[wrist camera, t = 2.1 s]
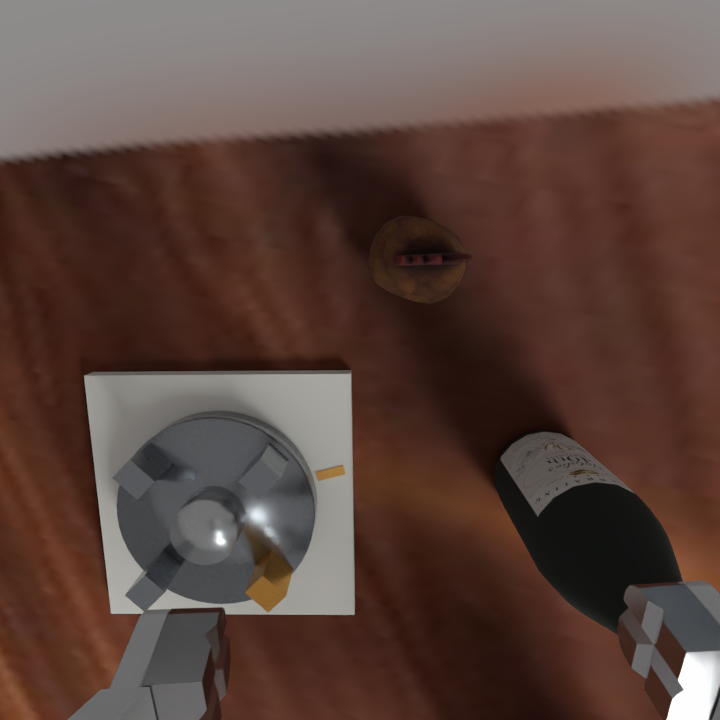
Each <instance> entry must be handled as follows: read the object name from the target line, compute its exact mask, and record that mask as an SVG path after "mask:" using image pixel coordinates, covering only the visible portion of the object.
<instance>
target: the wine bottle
mask: <svg viewBox="0 0 720 720" xmlns="http://www.w3.org/2000/svg"><path fill="white" fill-rule="evenodd" d="M495 487H496V489H497V492H498V494H499V496H500V499H501V501H502V503H503V505H504V507H505V509H506V511H507V513H508V514H509V516H510V518H511V520H512V522H513V524H514V526H515V527H516V529H517V531H518V533H519V535H520V537H521V538H522V540H523V542H524V544H525V546H526V548H527V549H528V551H529V553H530V555H531V557H532V559H533V560H534V562H535V564H536V566H537V568H538V570H539V571H540V572H541V574H542V575H543V576H544V577H545V578H546V579H547V581H548V582H549V583H550V584H551V585H552V586H553V587H554V588H555V589H556V590H557V591H558V592H559V593H560V594H561V596H562V597H563V598H564V599H565V600H566V601H567V602H569V603H570V604H571V605H572V606H573V607H574V608H576V609H577V610H579V611H580V612H581V613H583V614H584V615H586V616H588V617H589V618H591V619H593V620H594V621H596V622H598V623H599V624H601V625H603V626H604V627H606V628H608V629H609V630H611V631H613V632H614V633H616V634H617V635H618V631H617V628H618V623H619V617H620V616H621V615H622V614H623V613H624V612H625V611H626V610H627V609H628V608H629V607H628V606H627V605H626V603H625V602H624V600H623V599H624V595H625V591H626V589H627V588H628V587H629V586H630V585H638V584H654V583H669V582H676V583H678V582H683V581H682V577H681V574H680V570H679V567H678V564H677V561H676V558H675V555H674V552H673V549H672V546H671V544H670V541H669V539H668V536H667V534H666V532H665V531H664V529H663V527H662V525H661V524H660V522H659V521H658V519H657V518H656V517H655V515H654V514H653V513H652V511H651V510H650V509H649V508H648V507H647V506H646V504H645V503H644V502H643V501H642V500H641V499H640V498H639V497H638V496H637V495H636V494H635V493H634V492H633V491H632V490H631V489H630V488H628V487H627V486H626V485H625V484H624V483H623V482H622V481H620V480H619V479H618V478H617V477H616V476H615V475H614V474H612V473H611V472H610V471H609V470H608V469H607V468H606V467H604V466H603V465H602V464H601V463H600V462H599V461H597V460H596V459H595V458H594V457H593V456H592V455H591V454H589V453H588V452H587V451H586V450H585V449H584V448H583V447H581V446H580V445H579V444H578V443H577V442H576V441H574V440H573V439H571V438H569V437H567V436H565V435H563V434H561V433H559V432H553V431H545V430H539V431H534V432H529V433H525V434H523V435H521V436H519V437H518V438H516V439H514V440H513V441H511V442H510V443H509V444H508V445H507V447H506V448H505V449H504V450H503V451H502V452H501V453H500V456H499V458H498V461H497V464H496V467H495Z"/></svg>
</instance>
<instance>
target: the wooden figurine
mask: <svg viewBox="0 0 720 720" xmlns="http://www.w3.org/2000/svg"><path fill="white" fill-rule="evenodd" d="M471 259H472V255H468V254H466V251H465V249H464V247H463V245H462V242H461V240H460V238H459V237H458V236H457V235H456V234H455V233H453V232H452V231H451V230H449V229H448V228H447V227H445V226H443V225H441V224H438V223H436V222H434V221H432V220H428V219H425V218H421V217H417V216H402V215H400V216H398V217H396V218H394V219H392V220H390V221H388V222H386V223H385V224H384V225H383V226H382V227H381V229H380V230H379V231H378V232H377V233H376V235H375V237H374V240H373V242H372V245H371V248H370V255H369V267H368V268H369V270H370V273H371V275H372V277H373V280H374V282H375V284H377V285H378V286H380V287H382V288H383V289H385V290H386V291H388V292H390V293H392V294H394V295H397V296H399V297H402V298H404V299H408V300H411V301H415V302H419V303H427V304H434V303H436V302H438V301H440V300H442V299H445V298H447V297H449V296H450V295H451V293H452V292H453V291H454V290H455V289H456V288H457V286H458V285H459V284H460V282H461V279H462V277H463V274H464V272H465V269H466V261H469V260H471Z"/></svg>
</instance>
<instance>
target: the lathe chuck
mask: <svg viewBox="0 0 720 720" xmlns="http://www.w3.org/2000/svg"><path fill="white" fill-rule="evenodd" d="M112 479H114V480H115V481H116V482H117V483H118V484H119V489H118V494H117V518H118V523H119V528H120V531H121V534H122V538H123V540H124V542H125V544H126V546H127V549H128V550H129V552H130V554H131V555H132V557H133V558H134V560H135V561H136V562H137V564H138V565H139V566H140V567H141V568H142V570H143V572H142V573H141V574H140V576H139V577H138V578H137V580H136V581H135V582H134V584H133V585H132V586H131V588H130V589H129V590H128V592H127V593H126V594H125V596H126V597H127V598H128V599H130V600H131V601H132V602H133V603H134V604H136V605H137V606H138V607H139V608H140V609H142V610H143V611H145V610H147V609H148V608H149V607H150V606H151V605H152V604H153V603H155V602H156V601H157V600H158V599H159V598H160V597H161V596H162V595H163V594H164V593H165V591H166V590H167V589H168V590H170V591H171V592H173V593H175V594H178V595H180V596H182V597H185V598H188V599H191V600H195V601H199V602H205V603H212V604H231V603H239V602H244V601H248V600H251V599H253V600H254V601H255V602H256V603H257V604H259V605H260V606H261V607H262V608H263V609H264V610H266V611H267V612H268V613H269V612H270V611H271V610H272V609H273V608H274V607H275V606H276V605H277V604H278V603H279V602H280V601H281V600H282V599H284V598H285V597H286V595H287V591H288V587H289V583H290V579H291V575H292V574H293V573H294V572H295V570H296V569H297V568H298V566H299V565H300V563H301V562H302V560H303V558H304V556H305V554H306V552H307V550H308V548H309V545H310V542H311V539H312V534H313V530H314V525H315V520H316V514H317V493H316V487H315V483H314V479H313V476H312V473H311V471H310V468H309V466H308V464H307V462H306V461H305V459H304V457H303V456H302V454H301V453H300V452H299V450H298V449H297V447H296V446H295V445H294V444H293V443H292V442H291V441H290V440H289V439H288V438H287V437H286V436H285V435H283V434H282V433H281V432H280V431H278V430H277V429H276V428H274V427H272V426H271V425H269V424H267V423H266V422H263V421H261V420H259V419H257V418H254V417H251V416H248V415H245V414H241V413H236V412H230V411H208V412H201V413H196V414H192V415H189V416H186V417H183V418H181V419H179V420H177V421H175V422H173V423H171V424H170V425H168V426H167V427H165V428H164V429H162V430H161V431H160V432H158V433H157V434H156V435H155V436H153V437H152V438H151V439H149V440H148V441H147V442H146V443H145V444H144V445H143V446H142V447H141V448H140V449H139V450H138V451H137V452H136V453H135V455H134V456H133V457H132V458H131V459H129V460H128V461H127V463H126V464H125V465H124V466H123V467H122V468H121V469H120V470H119V471H118V472H117V473H116V474H115V475H114V476H113V477H112Z"/></svg>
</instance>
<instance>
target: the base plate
mask: <svg viewBox="0 0 720 720" xmlns="http://www.w3.org/2000/svg"><path fill="white" fill-rule="evenodd" d="M84 381H85V390H86V399H87V408H88V416H89V425H90V434H91V442H92V451H93V460H94V469H95V477H96V486H97V495H98V503H99V512H100V521H101V530H102V538H103V547H104V556H105V564H106V573H107V582H108V591H109V599H110V608H111V614H143V612H144V611H143V610H142V609H140V608H139V607H138V606H137V605H136V604H134V603H133V602H132V601H131V600H130V599H128V598H127V597H126V596H125V594H126V593H127V592H128V590H129V589H130V588H131V586H132V585H133V584H134V582H135V581H136V580H137V578H138V577H139V576H140V574H141V573H142V572H143V570H142V568H141V567H140V566H139V565H138V564H137V562H136V561H135V560H134V558H133V557H132V555H131V554H130V552H129V550H128V549H127V546H126V544H125V542H124V540H123V538H122V534H121V531H120V528H119V523H118V518H117V494H118V489H119V484H118V483H117V482H116V481H115V480H114V479H112V477H113V476H114V475H115V474H116V473H117V472H118V471H119V470H120V469H121V468H122V467H123V466H124V465H125V464H126V463H127V461H128V460H129V459H131V458H132V457H133V456H134V455H135V453H136V452H137V451H138V450H139V449H140V448H141V447H142V446H143V445H144V444H145V443H146V442H147V441H148V440H149V439H151V438H152V437H153V436H155V435H156V434H157V433H158V432H160V431H161V430H162V429H164V428H165V427H167V426H168V425H170V424H171V423H173V422H175V421H177V420H179V419H181V418H183V417H186V416H189V415H192V414H196V413H201V412H208V411H230V412H236V413H241V414H245V415H248V416H251V417H254V418H257V419H259V420H261V421H263V422H266V423H267V424H269V425H271V426H272V427H274V428H276V429H277V430H278V431H280V432H281V433H282V434H283V435H285V436H286V437H287V438H288V439H289V440H290V441H291V442H292V443H293V444H294V445H295V446H296V447H297V449H298V450H299V452H300V453H301V454H302V456H303V457H304V459H305V461H306V462H307V464H308V466H309V468H310V471H311V473H312V476H313V479H314V483H315V487H316V493H317V514H316V520H315V525H314V530H313V534H312V539H311V542H310V545H309V548H308V550H307V552H306V554H305V556H304V558H303V560H302V562H301V563H300V565H299V566H298V568H297V569H296V570H295V572H294V573H293V574H292V575H291V579H290V583H289V587H288V591H287V595H286V597H285V598H284V599H282V600H281V601H280V602H279V603H278V604H277V605H276V606H275V607H274V608H273V609H272V610H271V611H270V612H269V613H268V612H267V611H266V610H264V609H263V608H262V607H261V606H260V605H259V604H257V603H256V602H255V601H254V600H253V599H251V600H248V601H244V602H239V603H231V604H212V603H205V602H199V601H195V600H191V599H188V598H185V597H182V596H180V595H178V594H175V593H173V592H171V591H170V590H168V589H167V590H166V591H165V593H164V594H163V595H162V596H161V597H160V598H159V599H158V600H157V601H156V602H155V603H153V604H152V605H151V606H150V607H149V608H148V609H147V610H157V609H176V608H213V607H222V608H224V609H225V614H277V615H355V567H354V503H353V439H352V375H351V370H290V371H147V372H92V373H89V374H87V375H84Z"/></svg>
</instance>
